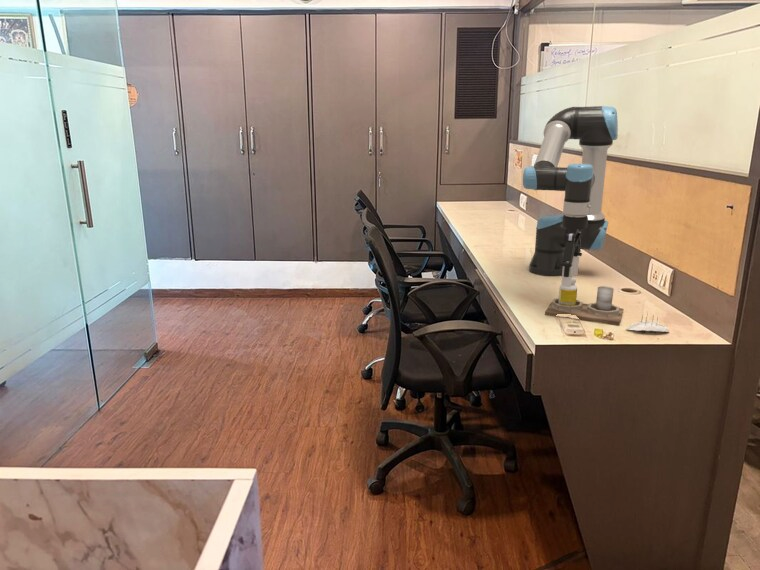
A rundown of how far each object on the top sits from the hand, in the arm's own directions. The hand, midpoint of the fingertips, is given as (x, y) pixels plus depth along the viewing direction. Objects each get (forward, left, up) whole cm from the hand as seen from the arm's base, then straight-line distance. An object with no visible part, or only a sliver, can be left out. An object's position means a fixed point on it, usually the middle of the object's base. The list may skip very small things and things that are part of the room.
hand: (569, 280), depth 180 cm
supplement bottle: (0, 0, -9) cm, 9 cm away
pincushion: (+9, +24, -11) cm, 28 cm away
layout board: (0, +6, -10) cm, 12 cm away
